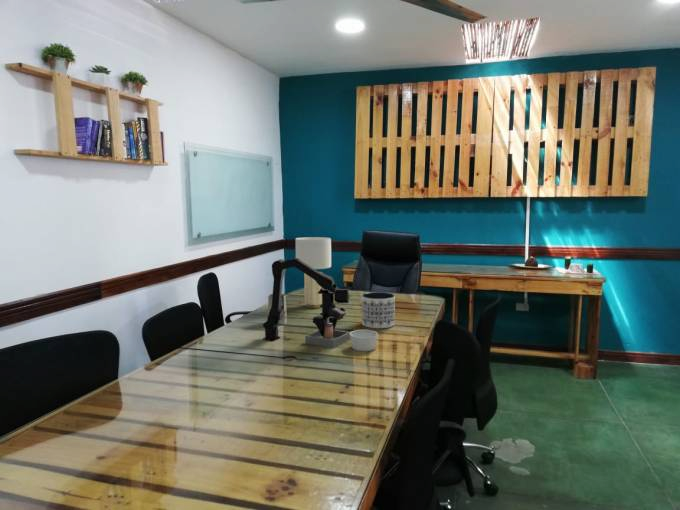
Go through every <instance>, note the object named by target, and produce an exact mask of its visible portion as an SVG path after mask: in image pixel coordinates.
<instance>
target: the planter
mask: <svg viewBox="0 0 680 510" xmlns="http://www.w3.org/2000/svg"><path fill="white" fill-rule="evenodd" d="M395 299H396V295H395V294H393V293H389V292H381V291H378V292H377V291H376V292H375V291H373V292H366V293H363V294H361V325H362V326H364V327H366V328H370V329H389V328H391V327H393V326H395V324H396V323H395V322H396V315H395V314H396V306H395V305H396V300H395Z"/></svg>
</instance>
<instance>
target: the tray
mask: <svg viewBox="0 0 680 510" xmlns="http://www.w3.org/2000/svg"><path fill="white" fill-rule="evenodd" d="M350 332H351V331H345V330H339V329H335V330H334V332H333V340H331V339H325V338H323V336H322V335H321V333H320V331H319V329H318V330H316V331H313V332H311V333H308V334H306V335H305V340H304V341H305V343H304V344H308V345H313V346H314V345H315V346H321V347H325V348H331V349H332V348H333V349H335V348H337V347H338V346H341V345H343V344H344V343H346V342H348V341H349V340H350Z"/></svg>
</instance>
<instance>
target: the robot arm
mask: <svg viewBox="0 0 680 510" xmlns="http://www.w3.org/2000/svg"><path fill="white" fill-rule="evenodd" d="M290 268H295V269H297V270H299V271H301V272H302V273H303V274H304V273H305V274H306V275H308V276H310V277H311V278H313V279H314V280H315V281H316V282H317V283H318V285H320V286H321V287H322V288H323V289H322V288H321V289H320V291H319V292H318V294H322V305H320V307H321V312H320V314H319V315H316V316H314V317H313V318H312V323H313V324H314V325H315V326H316V328H317V329H318V330H319V331H320V333H321V335H322V336H323V337H324V334H325V326H326V325H327V324H328V323H327V322H332V323H333V332H334V330H336V327H337V323H338V321H340V320H342V319H344V317H345V315H346V308H345V307H340V308H339V307H338V308H337V305H336V304H335V303H337V304H349V303H350V293H349V289H348V288H339V287H338V286H337V285H336V283H335V280H334V277H332V276H330V275H328V274H325V273H324V272H322V273H320V272H321V271H319V270H317V269H313V268H312V267H310V266H309V265H307V264H306V263H304V262H303V261H301V260H300V259H299V258H296V257H294V258H290V259H286V260H284V259H277V260H275V261H273V262H272V264H271V273H272V277H273V285H272V294H273V295H272V306H271V309H270V311H269V310H268V316H267V320H266V321H265V322H264V323H262V325H263V329H264V335H265V336H264V337H262V340H266V341H271V342H274V341H276V340H278V339H280V338H281V336H279V326H278V325H280V324H279V322H280V321H281V320H282V318H283V317H284V316H283V313H284V309H281V294H283V293H282V291H283V281H284V280H283V279H284V277H285V274H286V270H287V269H290ZM334 302H335V303H334Z"/></svg>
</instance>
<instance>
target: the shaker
mask: <svg viewBox="0 0 680 510" xmlns="http://www.w3.org/2000/svg"><path fill="white" fill-rule="evenodd" d="M327 323H328V324H327V325H326V326H325V334H324V337H323V338H325V339H331V340H333V323H332V322H329V321H327Z"/></svg>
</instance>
